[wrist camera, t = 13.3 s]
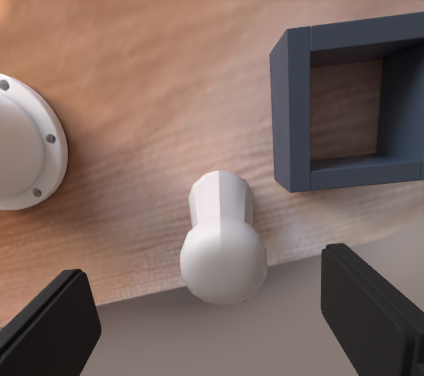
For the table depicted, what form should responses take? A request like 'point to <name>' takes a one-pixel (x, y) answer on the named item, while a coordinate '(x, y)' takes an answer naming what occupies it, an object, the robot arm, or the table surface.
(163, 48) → the table surface
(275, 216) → the table surface
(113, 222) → the table surface
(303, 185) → the holder
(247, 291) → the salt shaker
